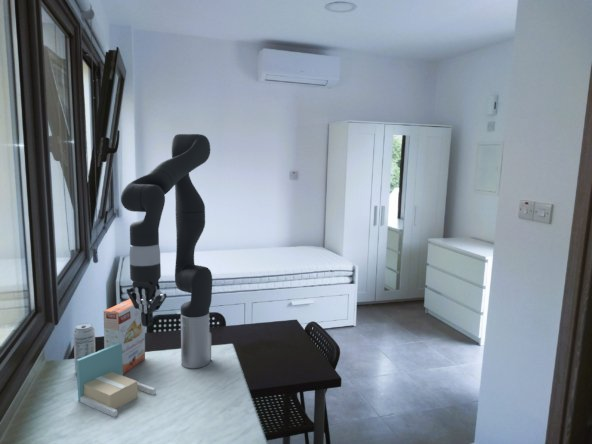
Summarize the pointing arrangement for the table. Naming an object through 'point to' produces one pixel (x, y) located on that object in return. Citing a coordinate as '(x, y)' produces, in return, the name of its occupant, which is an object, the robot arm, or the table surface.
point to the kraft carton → (111, 389)
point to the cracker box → (125, 333)
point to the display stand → (100, 366)
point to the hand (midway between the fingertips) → (147, 325)
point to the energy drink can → (83, 341)
